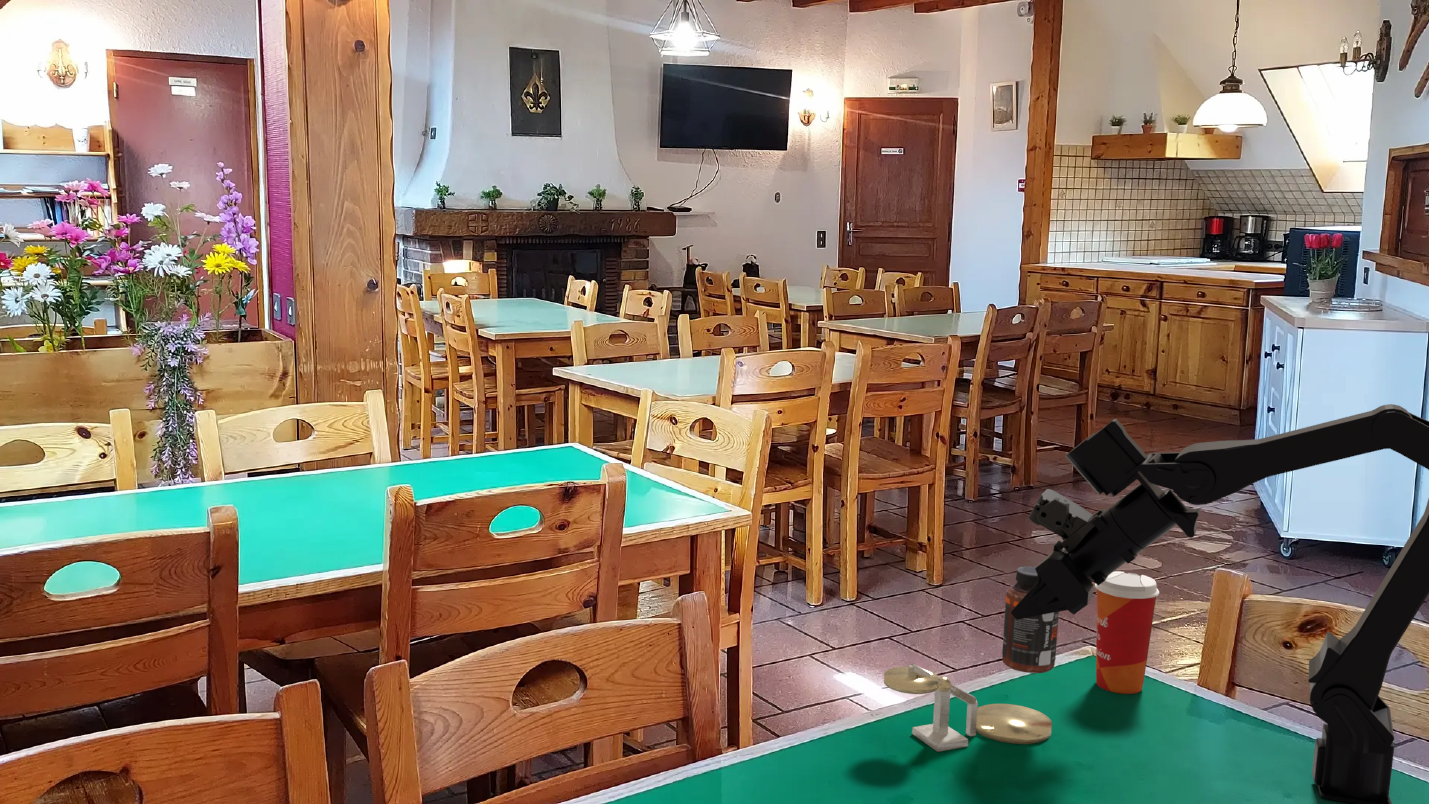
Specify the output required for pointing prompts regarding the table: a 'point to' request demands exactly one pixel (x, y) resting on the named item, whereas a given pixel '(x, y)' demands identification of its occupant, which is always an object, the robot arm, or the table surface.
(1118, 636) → the paper cup
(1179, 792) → the table surface
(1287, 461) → the robot arm
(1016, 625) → the supplement bottle
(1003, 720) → the balance
